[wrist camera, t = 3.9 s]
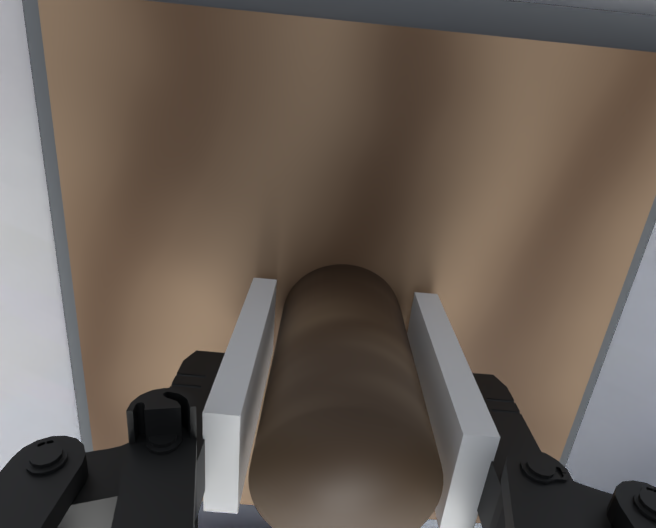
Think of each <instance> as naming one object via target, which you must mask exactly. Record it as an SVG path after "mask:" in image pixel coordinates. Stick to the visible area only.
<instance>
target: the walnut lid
mask: <svg viewBox="0 0 656 528" xmlns="http://www.w3.org/2000/svg"><path fill="white" fill-rule="evenodd" d="M38 7H39V15H40V23H41V31H42V39H43V47H44V55H45V64H46V72H47V80H48V88H49V96H50V104H51V112H52V120H53V128H54V136H55V144H56V153H57V161H58V169H59V177H60V185H61V193H62V201H63V209H64V217H65V225H66V234H67V242H68V250H69V258H70V266H71V274H72V282H73V290H74V298H75V306H76V314H77V323H78V331H79V339H80V347H81V355H82V363H83V371H84V379H85V387H86V395H87V403H88V412H89V420H90V428H91V436H92V444H93V451H97V450H103V449H110V448H114V447H118V446H122V445H124V444H127V443H129V439H128V428H127V416H126V410H127V408H128V407H129V405H130V403H131V402H132V401H133V400H134V399H136V398H137V397H138V396H139V395H141V394H144V393H146V392H148V391H151V390H155V389H161V388H169V387H170V386H171V385H172V382H173V380H174V378H175V376H176V375H177V372H178V370H179V368H180V366H181V364H182V362H183V360H185V359H186V358H187V357H188V356H190V355H191V354H192V353H194V352H195V351H196V350H198V351H209V352H221V353H225V352H226V349H227V347H228V344H229V341H230V339H231V336H232V333H233V331H234V328H235V326H236V323H237V320H238V318H239V315H240V312H241V310H242V307H243V304H244V302H245V299H246V297H247V294H248V291H249V289H250V286H251V283H252V281H253V278H264V279H275V280H277V287H276V305H275V323H274V340H273V353H272V357H271V362H270V367H269V371H268V376H267V380H266V385H265V390H264V394H263V399H262V403H261V408H260V413H259V417H258V422H257V427H256V431H255V436H254V440H253V445H252V450H251V454H250V459H249V463H248V468H247V473H246V477H245V482H244V487H243V491H242V496H241V500H240V504H246V505H254V506H255V507H256V509H257V511H258V512H259V514H260V515H261V516H262V518H263V519H264V520H265V521H266V522H267V523H268V524H269V525H270V526H271V527H272V528H420V527H421V526H422V525H423V524H424V523H425V522H426V521H427V520H428V519H435V520H437V518H436V513H435V509H436V507H437V505H438V503H439V501H440V498H441V495H442V490H443V470H442V465H441V461H440V457H439V453H438V450H437V446H436V442H435V438H434V434H433V431H432V427H431V423H430V419H429V415H428V412H427V408H426V404H425V400H424V396H423V393H422V389H421V385H420V381H419V377H418V374H417V370H416V366H415V362H414V358H413V355H412V351H411V347H410V343H409V339H408V336H407V331H408V326H409V320H410V315H411V309H412V304H413V298H414V292H420V293H431V294H438V296H439V299H440V301H441V303H442V306H443V308H444V310H445V312H446V315H447V317H448V319H449V321H450V324H451V326H452V328H453V331H454V333H455V335H456V337H457V340H458V342H459V344H460V347H461V349H462V351H463V353H464V356H465V358H466V360H467V362H468V365H469V367H470V369H471V372H472V373H480V374H491V375H494V376H496V377H497V378H498V379H499V380H500V381H501V382H502V383H503V384H504V385H506V386H507V388H508V390H509V391H510V393H511V395H512V397H513V399H514V403H516V405H517V407H518V408H519V410H520V414H522V416H523V418H524V420H525V422H526V424H527V426H528V427H529V429H530V431H531V433H532V435H533V437H534V439H535V441H536V443H537V444H538V446H539V448H540V450H541V452H544V453H546V454H548V455H550V456H551V457H553V458H555V459H556V460H558V461H560V458H561V455H562V452H563V450H564V447H565V444H566V441H567V438H568V436H569V433H570V430H571V427H572V425H573V422H574V419H575V416H576V414H577V411H578V408H579V405H580V403H581V400H582V397H583V394H584V392H585V389H586V386H587V383H588V381H589V378H590V375H591V372H592V370H593V367H594V364H595V361H596V358H597V356H598V353H599V350H600V347H601V345H602V342H603V339H604V336H605V334H606V331H607V328H608V325H609V323H610V320H611V317H612V314H613V312H614V309H615V306H616V303H617V301H618V298H619V295H620V292H621V290H622V287H623V284H624V281H625V279H626V276H627V273H628V270H629V267H630V265H631V262H632V259H633V256H634V254H635V251H636V248H637V245H638V243H639V240H640V237H641V234H642V232H643V229H644V226H645V223H646V221H647V218H648V215H649V212H650V210H651V207H652V204H653V201H654V199H655V196H656V52H646V51H636V50H627V49H617V48H607V47H597V46H587V45H577V44H568V43H558V42H548V41H538V40H528V39H519V38H509V37H499V36H489V35H479V34H470V33H460V32H450V31H440V30H430V29H421V28H411V27H401V26H391V25H381V24H371V23H362V22H352V21H342V20H332V19H322V18H313V17H303V16H293V15H283V14H273V13H264V12H254V11H244V10H234V9H224V8H215V7H205V6H195V5H185V4H175V3H165V2H156V1H146V0H38ZM202 501H203V499H202ZM475 523H481V521H480V518H479V515H478V516H477V519H476V522H475Z"/></svg>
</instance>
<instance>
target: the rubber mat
mask: <svg viewBox="0 0 656 528" xmlns="http://www.w3.org/2000/svg"><path fill="white" fill-rule="evenodd" d="M146 1H156V2H165V3H175V4H185V5H195V6H205V7H215V8H224V9H234V10H244V11H254V12H264V13H273V14H283V15H293V16H303V17H313V18H322V19H332V20H342V21H352V22H362V23H371V24H381V25H391V26H401V27H411V28H421V29H430V30H440V31H450V32H460V33H470V34H479V35H489V36H499V37H509V38H519V39H528V40H538V41H548V42H558V43H568V44H577V45H587V46H597V47H607V48H617V49H627V50H636V51H646V52H656V15H646V14H636V13H627V12H617V11H607V10H598V9H588V8H579V7H569V6H559V5H550V4H540V3H530V2H521V1H511V0H146ZM22 3H23V11H24V18H25V26H26V33H27V41H28V48H29V55H30V63H31V70H32V78H33V85H34V93H35V100H36V108H37V115H38V122H39V130H40V137H41V145H42V152H43V160H44V167H45V174H46V182H47V189H48V197H49V204H50V212H51V219H52V226H53V234H54V241H55V249H56V256H57V264H58V271H59V278H60V286H61V293H62V301H63V308H64V316H65V323H66V330H67V338H68V345H69V353H70V360H71V368H72V375H73V382H74V390H75V397H76V405H77V412H78V420H79V427H80V434H81V442H82V444H83V445H84V448H85V452H91V451H93V444H92V436H91V428H90V420H89V412H88V403H87V395H86V387H85V379H84V371H83V363H82V355H81V347H80V339H79V331H78V323H77V314H76V306H75V298H74V290H73V282H72V274H71V266H70V258H69V250H68V242H67V234H66V225H65V217H64V209H63V201H62V193H61V185H60V177H59V169H58V161H57V153H56V144H55V136H54V128H53V120H52V112H51V104H50V96H49V88H48V80H47V72H46V64H45V55H44V47H43V39H42V31H41V23H40V15H39V7H38V0H22ZM655 222H656V196H655V199H654V201H653V204H652V207H651V210H650V212H649V215H648V218H647V221H646V223H645V226H644V229H643V232H642V234H641V237H640V240H639V243H638V245H637V248H636V251H635V254H634V256H633V259H632V262H631V265H630V267H629V270H628V273H627V276H626V279H625V281H624V284H623V287H622V290H621V292H620V295H619V298H618V301H617V303H616V306H615V309H614V312H613V314H612V317H611V320H610V323H609V325H608V328H607V331H606V334H605V336H604V339H603V342H602V345H601V347H600V350H599V353H598V356H597V358H596V361H595V364H594V367H593V370H592V372H591V375H590V378H589V381H588V383H587V386H586V389H585V392H584V394H583V397H582V400H581V403H580V405H579V408H578V411H577V414H576V416H575V419H574V422H573V425H572V427H571V430H570V433H569V436H568V438H567V441H566V444H565V447H564V450H563V452H562V455H561V458H560V461H559V462H560V463H561V464H562V465H563V466H564V467H565V465H566V462H567V459H568V457H569V454H570V451H571V449H572V446H573V443H574V440H575V438H576V435H577V432H578V430H579V427H580V424H581V422H582V419H583V416H584V413H585V411H586V408H587V405H588V403H589V400H590V397H591V395H592V392H593V389H594V386H595V384H596V381H597V378H598V376H599V373H600V370H601V368H602V365H603V362H604V359H605V357H606V354H607V351H608V349H609V346H610V343H611V341H612V338H613V335H614V332H615V330H616V327H617V324H618V322H619V319H620V316H621V314H622V311H623V308H624V305H625V303H626V300H627V297H628V295H629V292H630V289H631V287H632V284H633V281H634V278H635V276H636V273H637V270H638V268H639V265H640V262H641V260H642V257H643V254H644V251H645V249H646V246H647V243H648V241H649V238H650V235H651V233H652V230H653V227H654V225H655Z"/></svg>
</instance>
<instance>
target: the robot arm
mask: <svg viewBox="0 0 656 528" xmlns="http://www.w3.org/2000/svg"><path fill="white" fill-rule="evenodd" d="M276 287H277V280H275V279H264V278H253V281H252V283H251V286H250V289H249V291H248V294H247V297H246V299H245V302H244V304H243V307H242V310H241V312H240V315H239V318H238V320H237V323H236V326H235V328H234V331H233V333H232V336H231V339H230V341H229V344H228V347H227V349H226V352H225V353H221V352H209V351H198V350H196V351H195V352H194V353H192V354H191V355H190V356H188V357H187V358H186V359H185V360H183V362H182V364H181V366H180V368H179V370H178V372H177V375H176V376H175V378H174V380H173V382H172V385H171V386H170V387H169V388H161V389H155V390H151V391H148V392H146V393H144V394H141V395H139V396H138V397H137V398H136V399H134V400H133V401H132V402H131V403H130V405H129V407H128V408H127V410H126V416H127V428H128V439H129V443H127V444H124V445H122V446H118V447H114V448H110V449H103V450H97V451H91V452H85V448H84V445H83V444H82V443H81V442H80V441H79V440H78V439H76V438H72V437H68V436H51V437H48V438H44V439H41V440H37V441H35V442H33V443H31V444H29V445H28V446H26V447H24V448H22V449H21V450H20V451H19V452H18V453H17V454H16V455H15V456H13V457H12V458H11V460H10V461H9V462H8V463H7V464H6V466H5V467H4V468H3V469H2V470H1V472H0V528H198V512H199V509H200V506H201V502H202V499H203V511H209V512H222V513H234V514H238V510H239V505H240V500H241V496H242V491H243V487H244V482H245V477H246V473H247V468H248V463H249V459H250V454H251V450H252V445H253V440H254V436H255V431H256V427H257V422H258V417H259V413H260V408H261V403H262V399H263V394H264V390H265V385H266V380H267V376H268V371H269V367H270V362H271V357H272V353H273V340H274V323H275V305H276ZM407 336H408V339H409V343H410V347H411V351H412V355H413V358H414V362H415V366H416V370H417V374H418V377H419V381H420V385H421V389H422V393H423V396H424V400H425V404H426V408H427V412H428V415H429V419H430V423H431V427H432V431H433V434H434V438H435V442H436V446H437V450H438V453H439V457H440V461H441V465H442V470H443V490H442V495H441V498H440V501H439V503H438V505H437V507H436V509H435V513H436V518H437V522H438V527H439V528H474V526H475V522H476V519H477V516H478V515H479V518H480V521H481V524H482V528H656V487H654V486H651V485H649V484H647V483H642V482H638V481H624V482H622V483H620V484H619V485H618V486H616V489H615V491H614V493H613V495H612V494H609V493H606V492H603V491H600V490H597V489H594V488H591V487H588V486H584V485H582V484H579V483H577V482H574V481H573V479H572V478H571V476H570V474H569V472H568V470H567V469H566V468H565V467H564V466H563V465H562V464H561V463H560V462H559V461H558V460H556V459H555V458H553V457H551V456H550V455H548V454H546V453H544V452H541V450H540V448H539V446H538V444H537V443H536V441H535V439H534V437H533V435H532V433H531V431H530V429H529V427H528V426H527V424H526V422H525V420H524V418H523V416H522V414H520V410H519V408H518V407H517V405H516V403H514V399H513V397H512V395H511V393H510V391H509V390H508V388H507V386H506V385H504V384H503V383H502V382H501V381H500V380H499V379H498V378H497V377H496V376H494V375H491V374H480V373H472V372H471V369H470V367H469V365H468V362H467V360H466V358H465V356H464V353H463V351H462V349H461V347H460V344H459V342H458V340H457V337H456V335H455V333H454V331H453V328H452V326H451V324H450V321H449V319H448V317H447V315H446V312H445V310H444V308H443V306H442V303H441V301H440V299H439V296H438V294H431V293H420V292H414V298H413V304H412V309H411V315H410V320H409V326H408V331H407Z"/></svg>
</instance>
